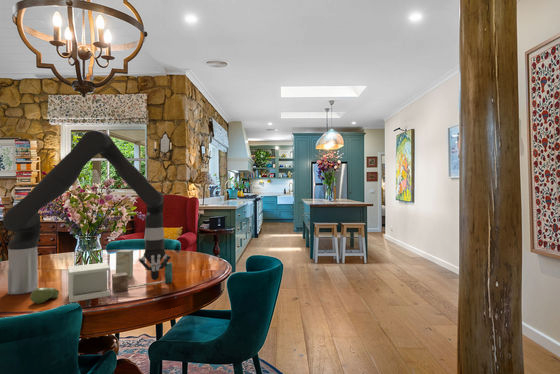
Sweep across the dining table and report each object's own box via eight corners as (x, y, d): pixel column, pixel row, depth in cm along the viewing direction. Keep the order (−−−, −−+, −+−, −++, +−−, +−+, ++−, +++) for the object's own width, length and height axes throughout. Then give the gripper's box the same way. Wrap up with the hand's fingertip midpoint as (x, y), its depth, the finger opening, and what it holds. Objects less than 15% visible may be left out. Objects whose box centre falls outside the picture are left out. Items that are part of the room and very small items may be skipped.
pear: (27, 288, 120) (50, 285, 130) (25, 304, 119) (48, 300, 129) (41, 289, 119) (63, 285, 129) (39, 305, 118) (62, 300, 128)
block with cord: (113, 292, 132) (113, 271, 132) (112, 289, 136) (112, 269, 136) (173, 282, 145) (173, 263, 145) (170, 280, 149) (170, 261, 149)
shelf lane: (69, 302, 122) (69, 272, 122) (68, 294, 131) (68, 266, 131) (110, 295, 129) (110, 267, 129) (106, 288, 138) (106, 262, 138)
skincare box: (115, 278, 154) (115, 251, 154) (120, 275, 158) (120, 249, 158) (128, 278, 153) (128, 251, 153) (133, 276, 158) (133, 249, 158)
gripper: (139, 240, 136) (139, 284, 136) (172, 237, 143) (173, 279, 143) (135, 238, 142) (136, 280, 142) (168, 235, 150) (168, 275, 149)
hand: (155, 279), depth 143 cm, fingers closed
